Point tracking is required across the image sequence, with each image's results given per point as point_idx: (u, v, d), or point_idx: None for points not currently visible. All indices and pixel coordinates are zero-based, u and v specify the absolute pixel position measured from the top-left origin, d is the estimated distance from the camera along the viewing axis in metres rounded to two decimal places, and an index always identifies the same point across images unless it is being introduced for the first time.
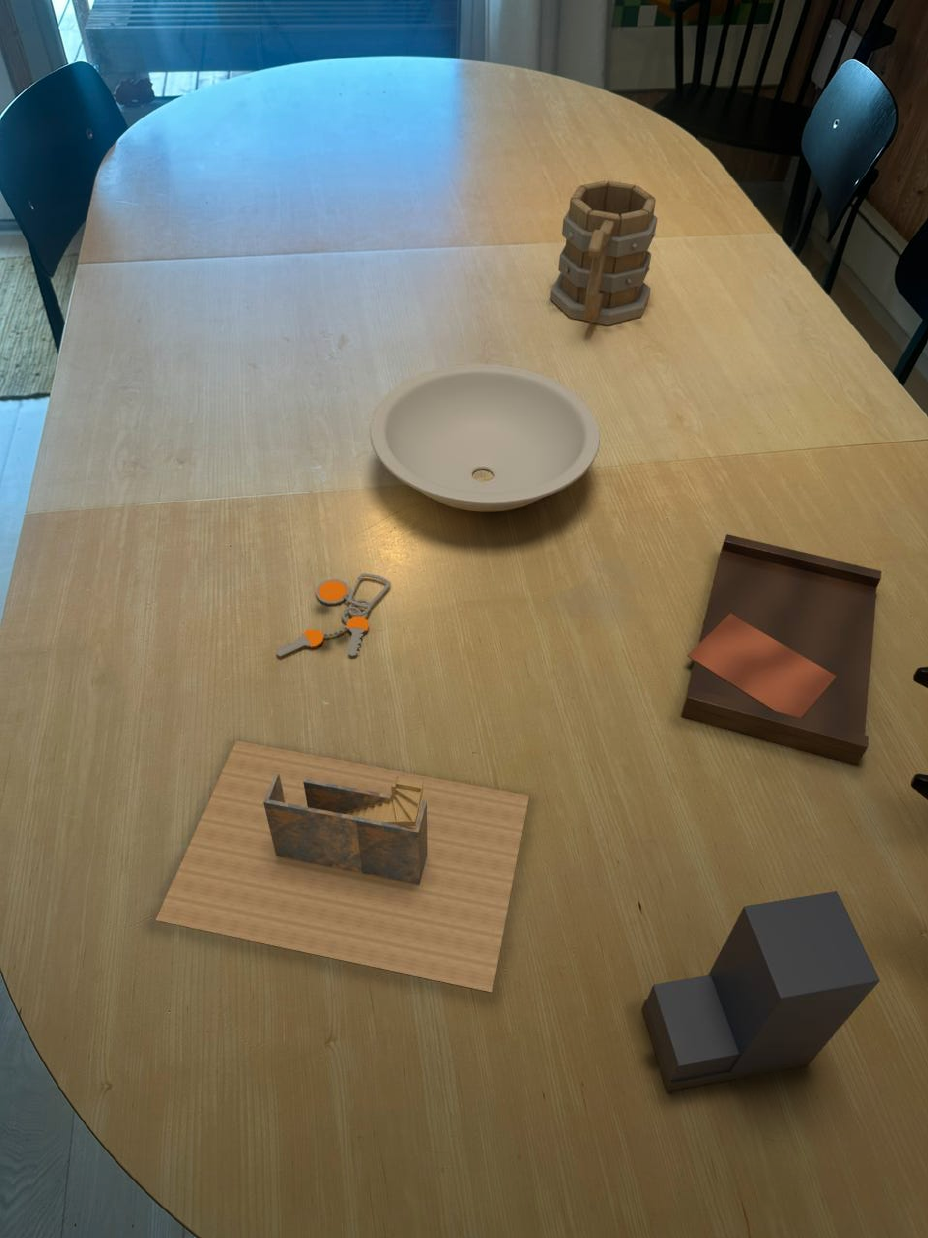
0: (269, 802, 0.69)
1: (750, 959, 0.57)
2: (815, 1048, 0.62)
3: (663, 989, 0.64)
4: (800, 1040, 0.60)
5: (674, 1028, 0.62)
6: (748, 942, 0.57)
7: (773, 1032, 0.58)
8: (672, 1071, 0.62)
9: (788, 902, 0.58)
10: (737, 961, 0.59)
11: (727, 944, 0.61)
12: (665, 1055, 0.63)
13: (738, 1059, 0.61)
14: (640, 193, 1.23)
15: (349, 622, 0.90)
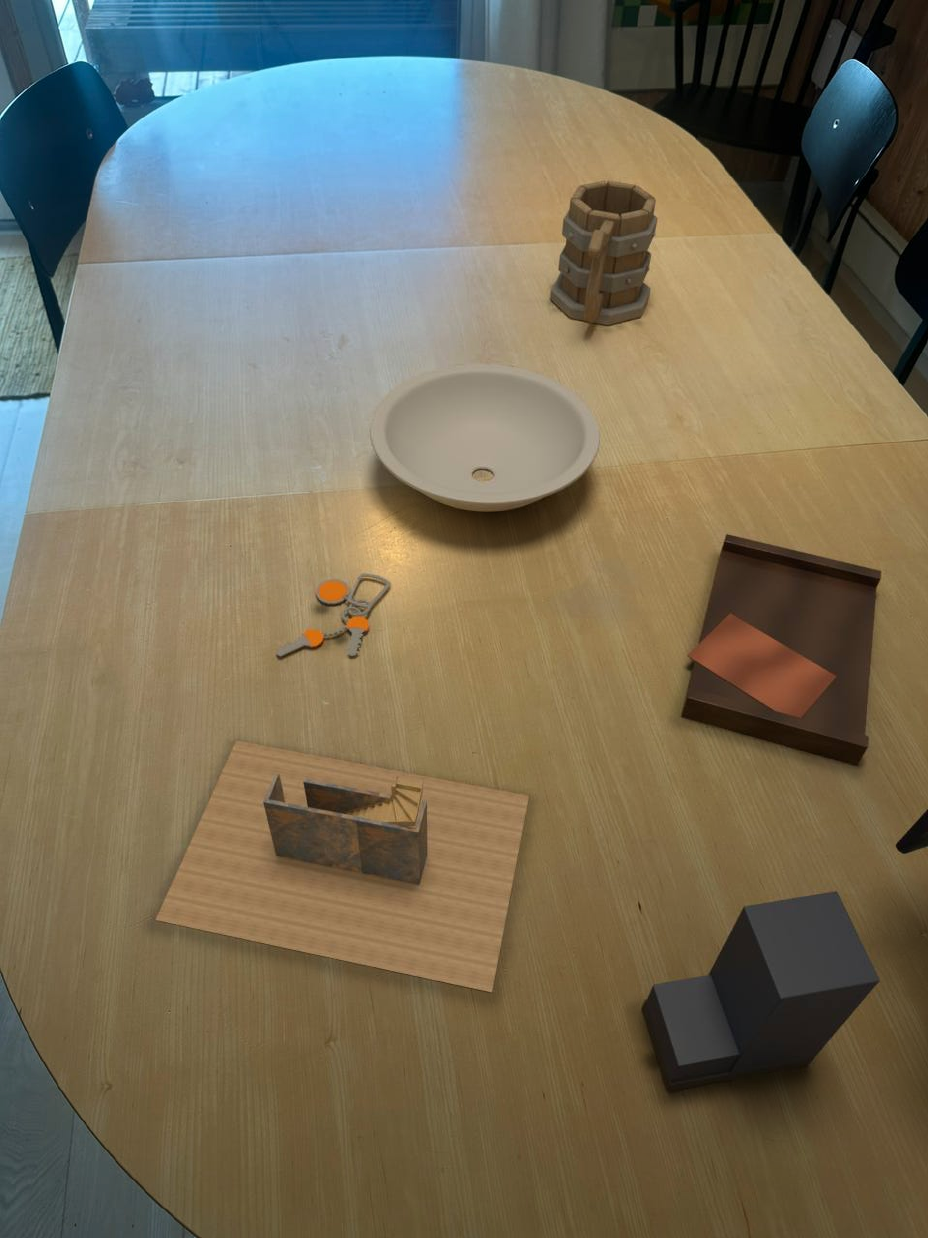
0: (269, 802, 0.69)
1: (750, 959, 0.57)
2: (815, 1048, 0.62)
3: (663, 989, 0.64)
4: (800, 1040, 0.60)
5: (674, 1028, 0.62)
6: (748, 942, 0.57)
7: (773, 1032, 0.58)
8: (672, 1071, 0.62)
9: (788, 902, 0.58)
10: (737, 961, 0.59)
11: (727, 944, 0.61)
12: (665, 1055, 0.63)
13: (738, 1059, 0.61)
14: (640, 193, 1.23)
15: (349, 622, 0.90)
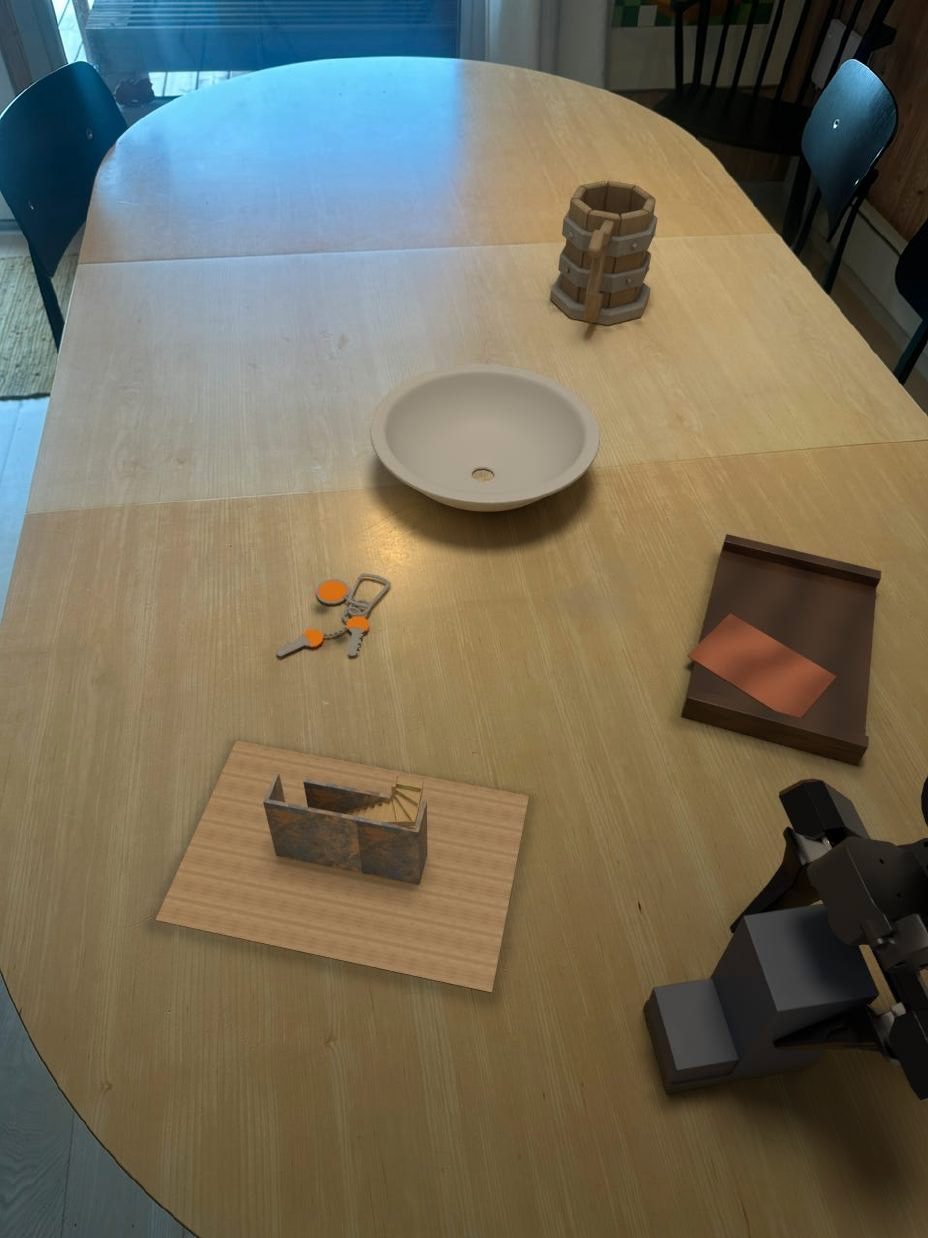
0: (269, 802, 0.69)
1: (749, 968, 0.57)
2: (816, 1054, 0.62)
3: (664, 992, 0.63)
4: None
5: (673, 1032, 0.62)
6: (747, 951, 0.57)
7: (772, 1041, 0.58)
8: (671, 1074, 0.62)
9: (789, 912, 0.57)
10: (737, 969, 0.59)
11: (727, 950, 0.60)
12: (664, 1057, 0.63)
13: (737, 1064, 0.61)
14: (640, 193, 1.23)
15: (349, 622, 0.90)
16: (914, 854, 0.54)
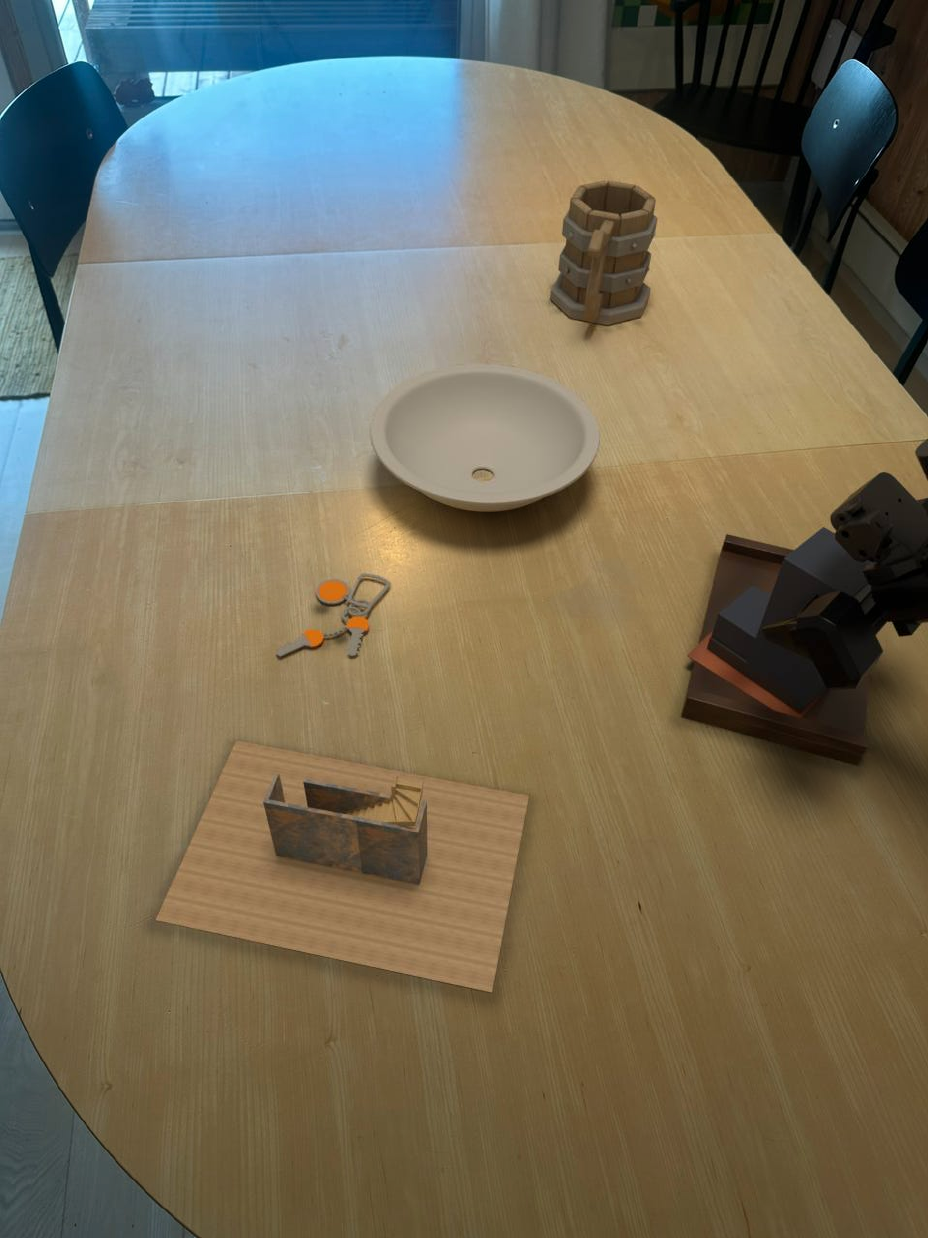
0: (269, 802, 0.69)
1: None
2: (805, 683, 0.80)
3: (755, 590, 0.86)
4: (795, 653, 0.80)
5: (737, 604, 0.85)
6: None
7: (777, 615, 0.79)
8: None
9: None
10: None
11: None
12: None
13: (753, 643, 0.83)
14: (640, 193, 1.23)
15: (349, 622, 0.90)
16: None
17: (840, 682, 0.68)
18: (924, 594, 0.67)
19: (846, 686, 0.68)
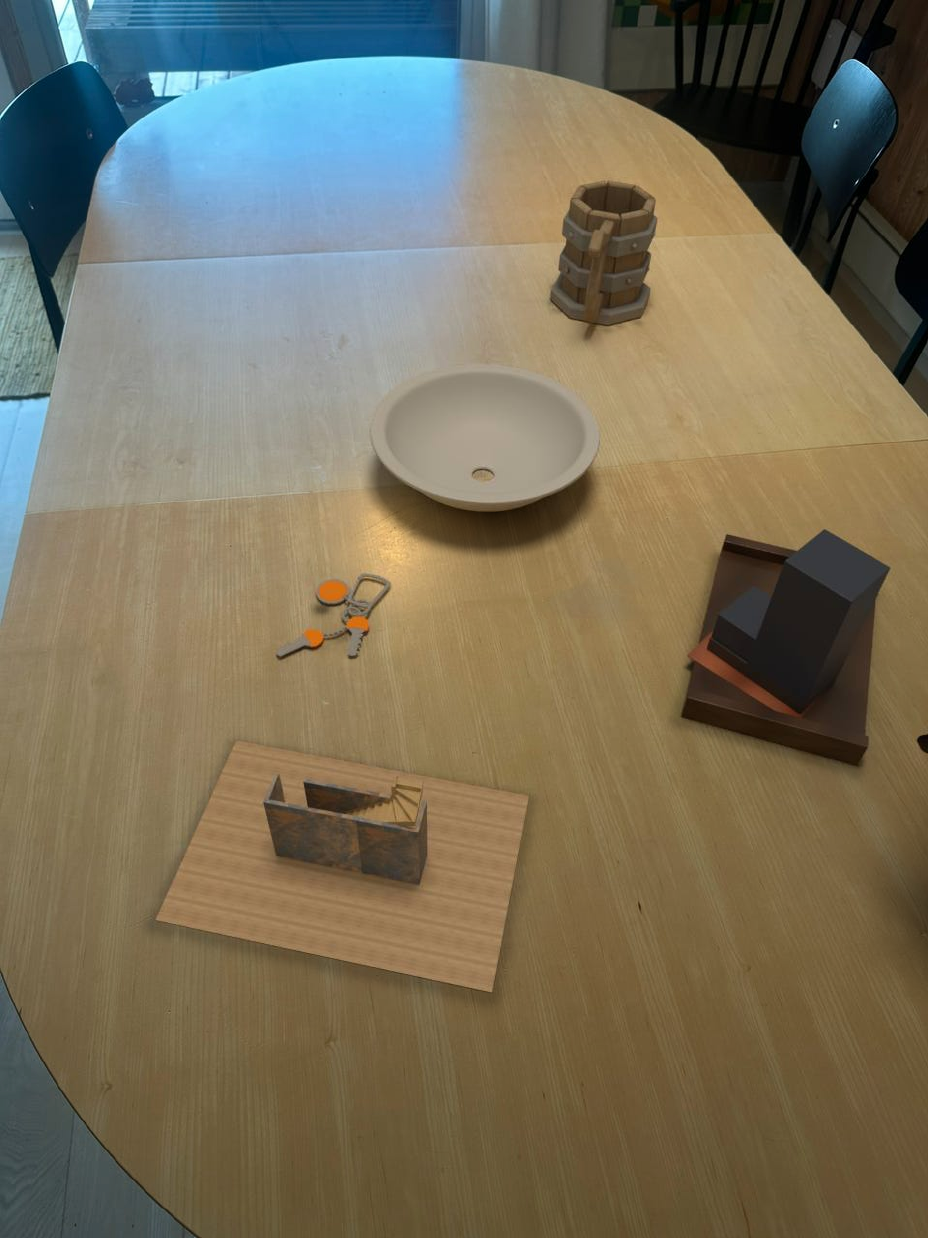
0: (269, 802, 0.69)
1: None
2: (805, 684, 0.81)
3: (756, 591, 0.86)
4: (795, 655, 0.80)
5: (738, 604, 0.85)
6: None
7: (778, 617, 0.79)
8: None
9: (853, 547, 0.77)
10: None
11: None
12: None
13: (753, 644, 0.83)
14: (640, 193, 1.23)
15: (349, 622, 0.90)
16: None
17: None
18: None
19: None
